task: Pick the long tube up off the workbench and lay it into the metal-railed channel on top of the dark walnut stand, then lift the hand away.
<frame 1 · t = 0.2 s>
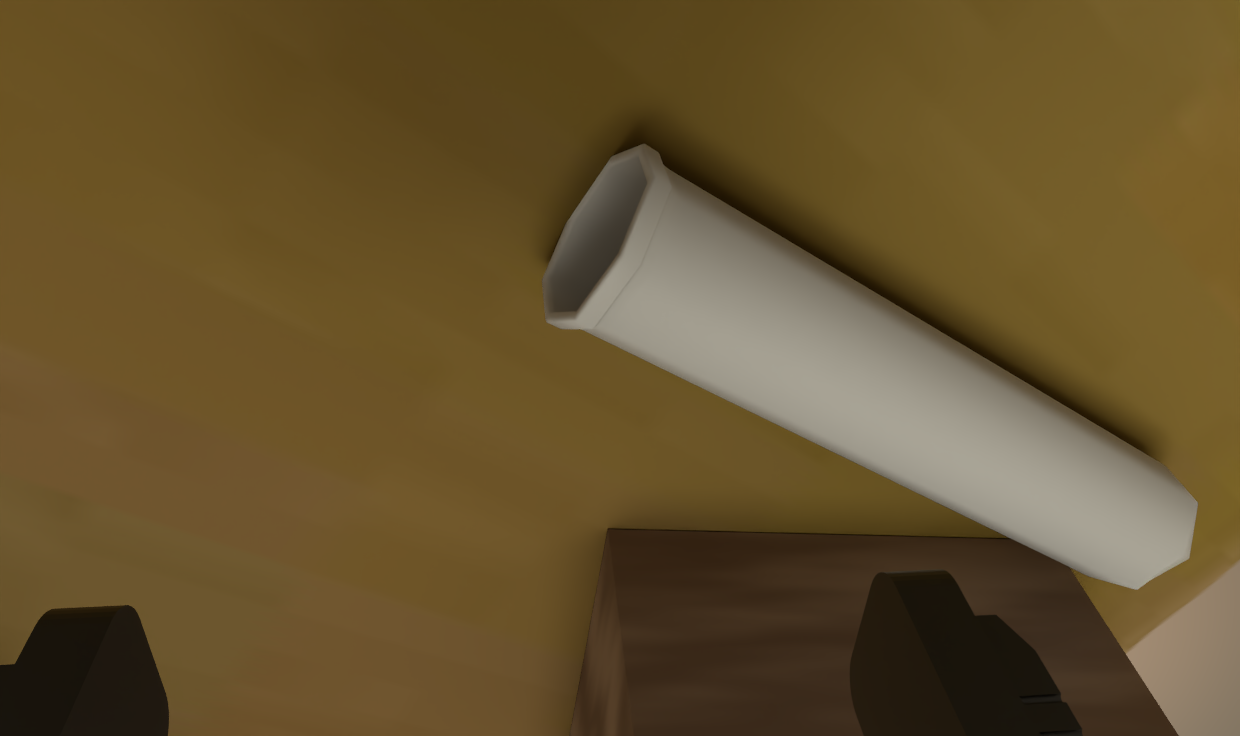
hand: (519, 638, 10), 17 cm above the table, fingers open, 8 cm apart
tube: (894, 362, 32), on the table
stand: (794, 650, 40), on the table
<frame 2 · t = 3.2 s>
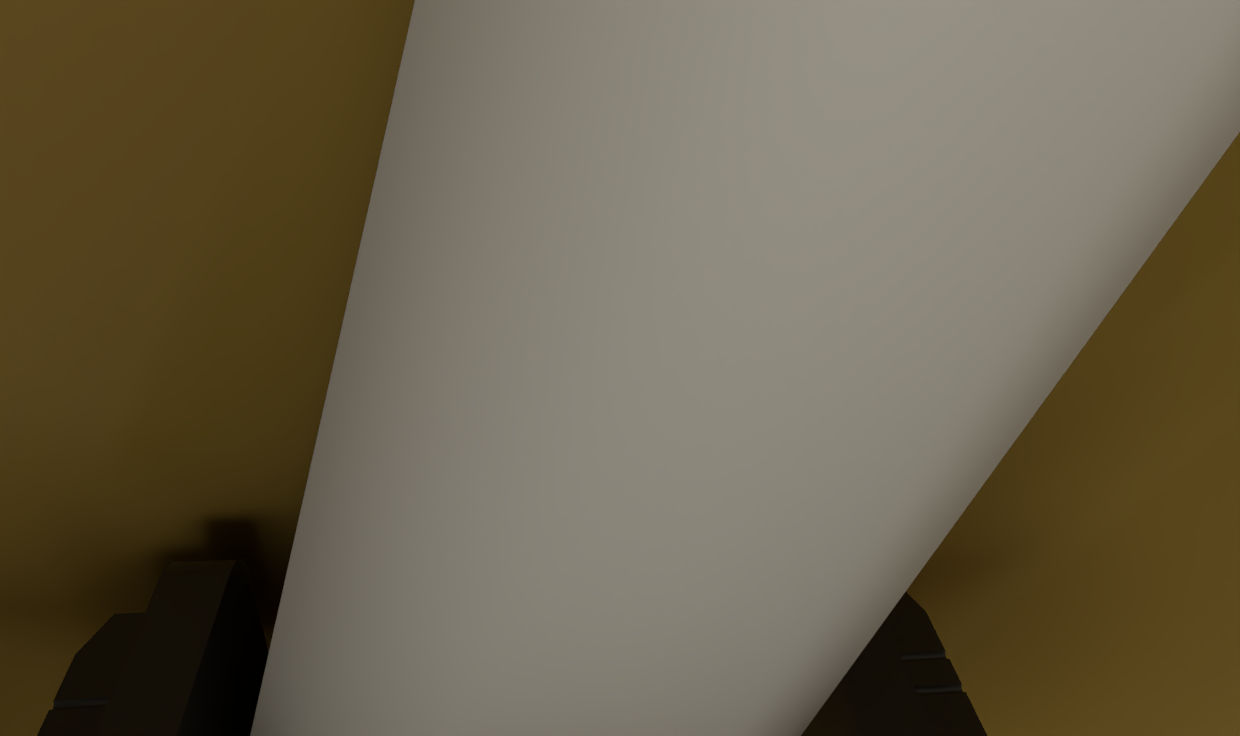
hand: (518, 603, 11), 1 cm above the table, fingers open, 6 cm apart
tube: (509, 514, 12), on the table
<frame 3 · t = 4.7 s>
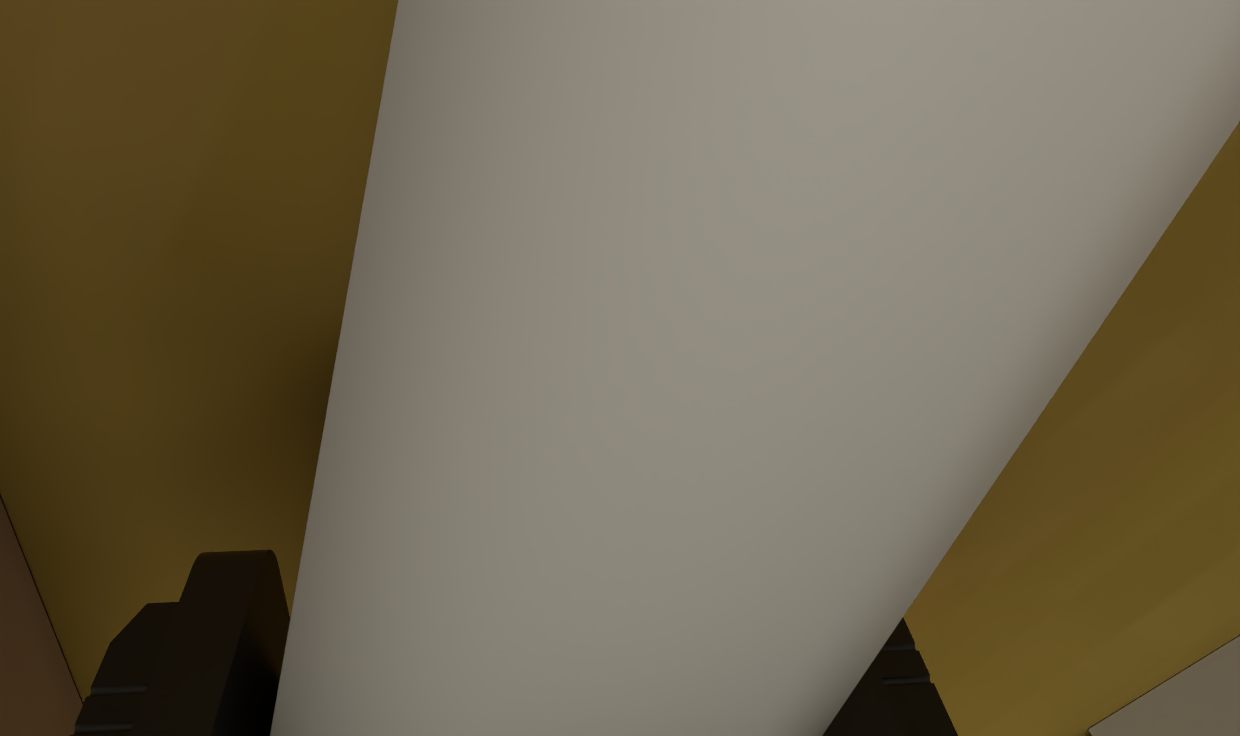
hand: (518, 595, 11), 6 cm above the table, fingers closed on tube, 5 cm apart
tube: (522, 523, 11), point 5 cm above the table, touching gripper
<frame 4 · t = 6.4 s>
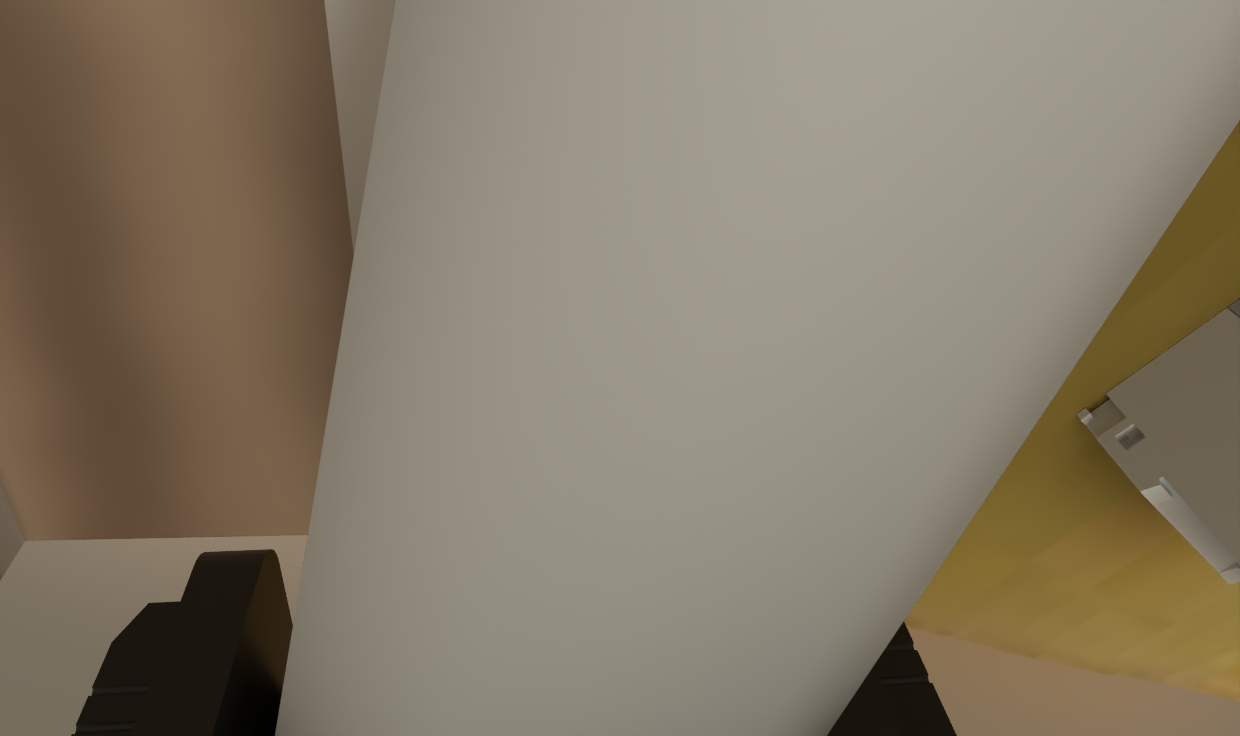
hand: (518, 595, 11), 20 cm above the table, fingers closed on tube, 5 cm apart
tube: (525, 523, 11), point 19 cm above the table, touching gripper
stand: (252, 60, 27), on the table
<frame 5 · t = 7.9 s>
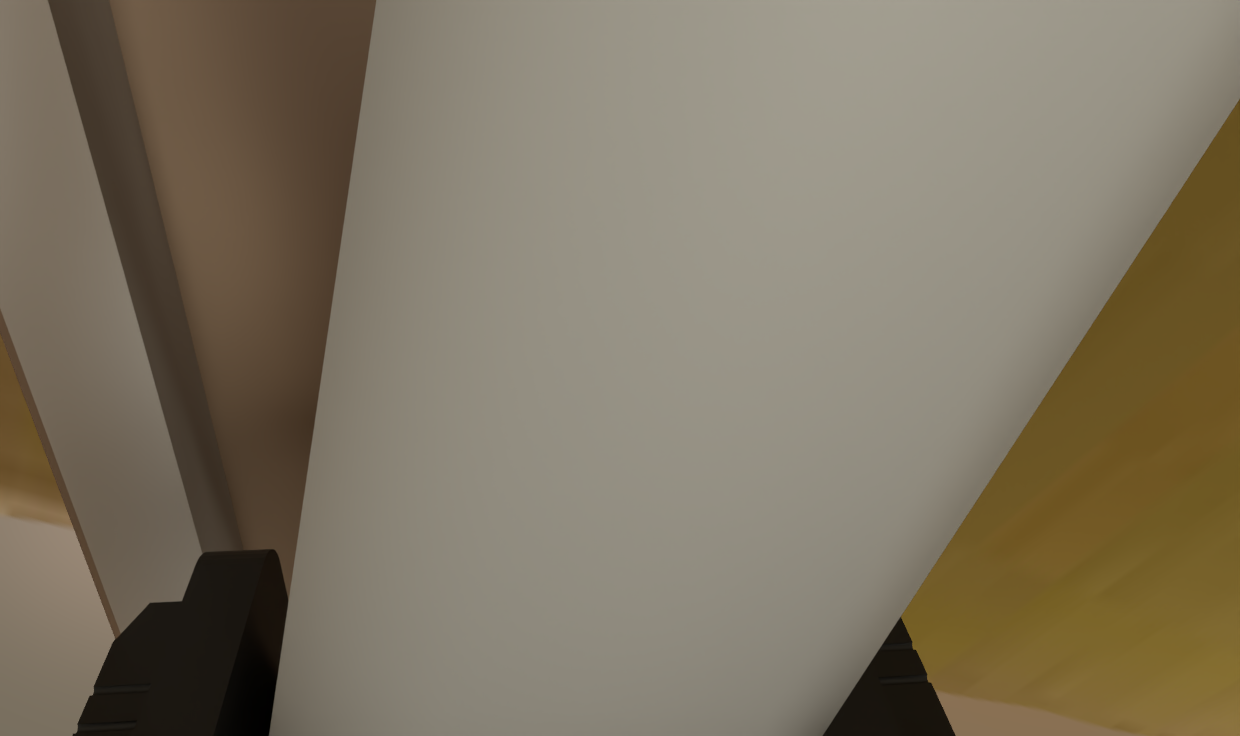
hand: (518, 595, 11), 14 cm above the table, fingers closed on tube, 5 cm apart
tube: (522, 524, 11), point 13 cm above the table, touching gripper
stand: (508, 160, 23), on the table
when the fingers open (12 cm above the table, at t = 9.2 s): tube drops 1 cm, resting on stand.
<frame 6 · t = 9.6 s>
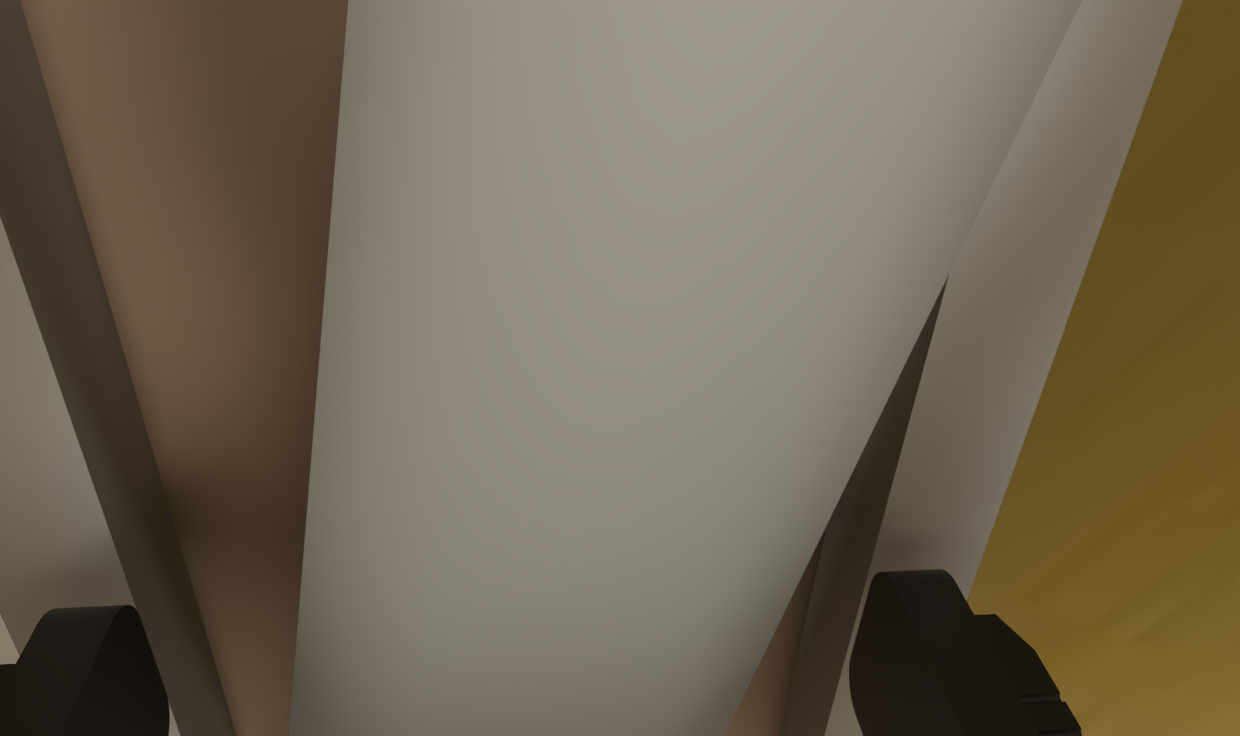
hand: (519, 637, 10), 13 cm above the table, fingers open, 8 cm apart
tube: (523, 456, 13), point 10 cm above the table, touching stand
stand: (510, 193, 21), on the table
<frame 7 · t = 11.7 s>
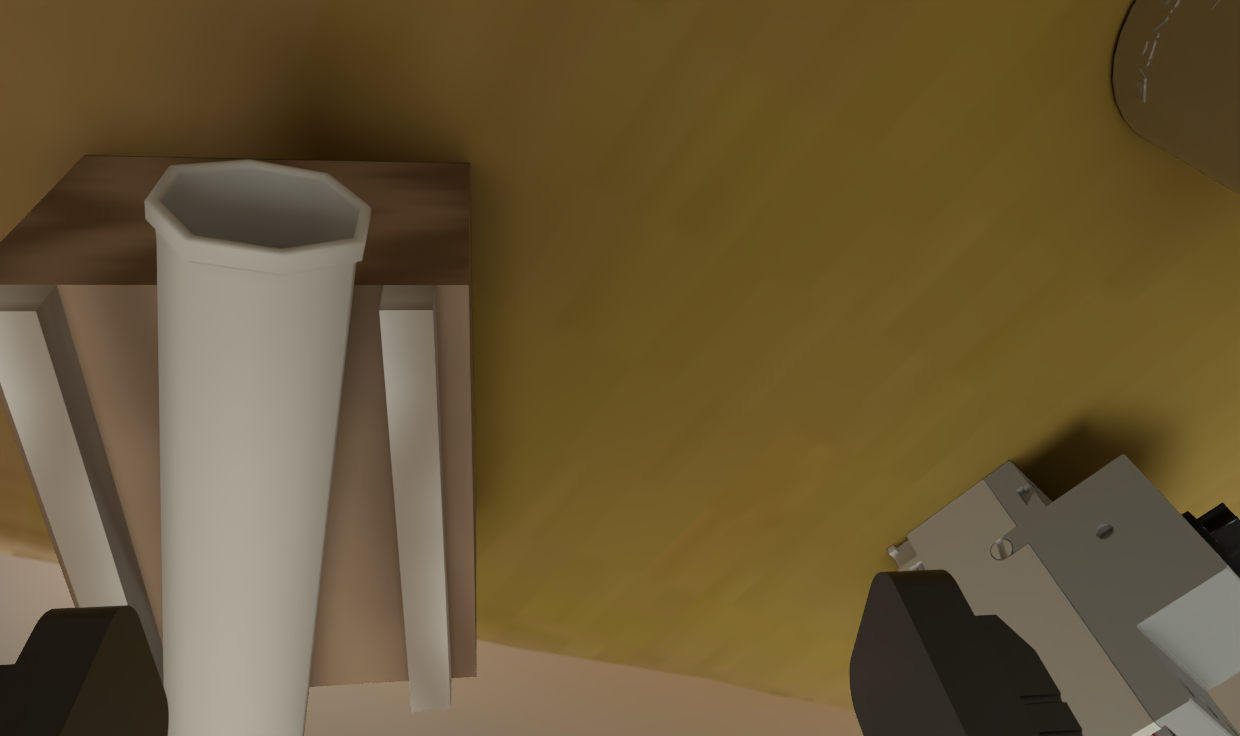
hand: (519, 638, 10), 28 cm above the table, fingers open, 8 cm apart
tube: (263, 504, 32), point 10 cm above the table, touching stand
circuit breaker: (1026, 502, 51), on the table
stand: (309, 359, 40), on the table
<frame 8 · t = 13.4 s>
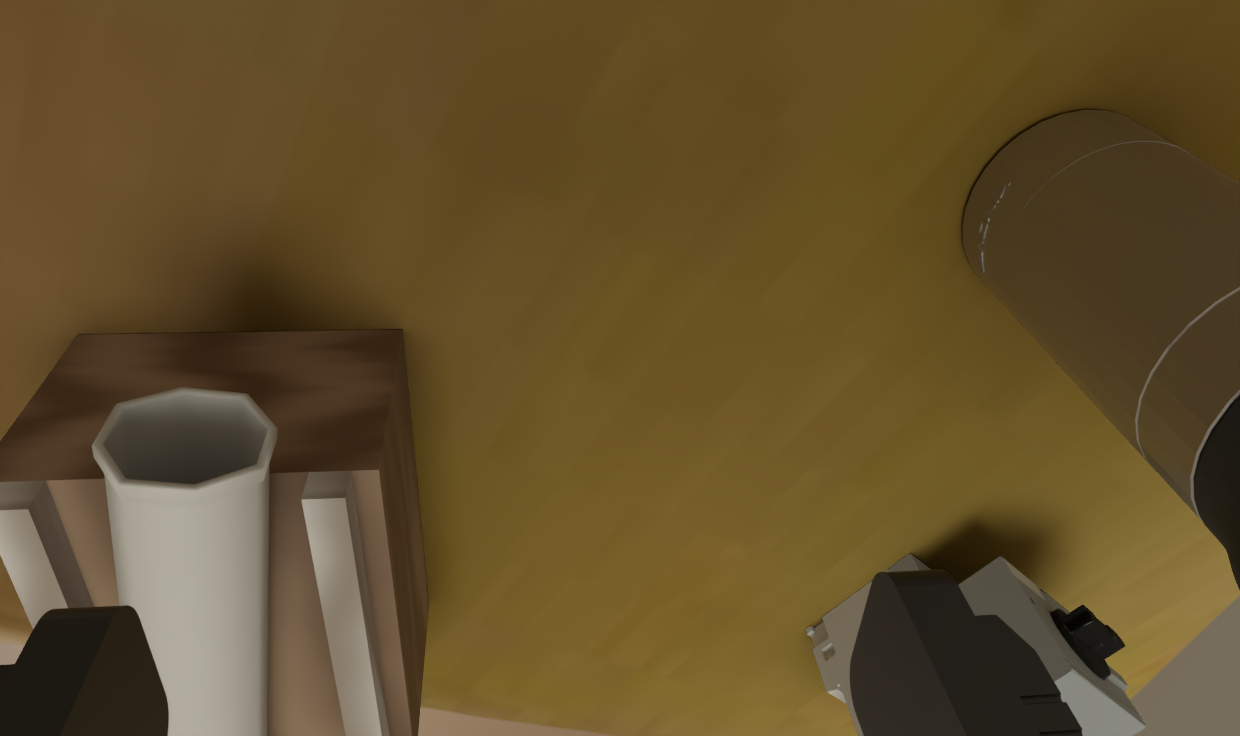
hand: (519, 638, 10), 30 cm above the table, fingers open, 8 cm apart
tube: (219, 633, 38), point 10 cm above the table, touching stand
circuit breaker: (931, 587, 56), on the table
stand: (275, 485, 47), on the table
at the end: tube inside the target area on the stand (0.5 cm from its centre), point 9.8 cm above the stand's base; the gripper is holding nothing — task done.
